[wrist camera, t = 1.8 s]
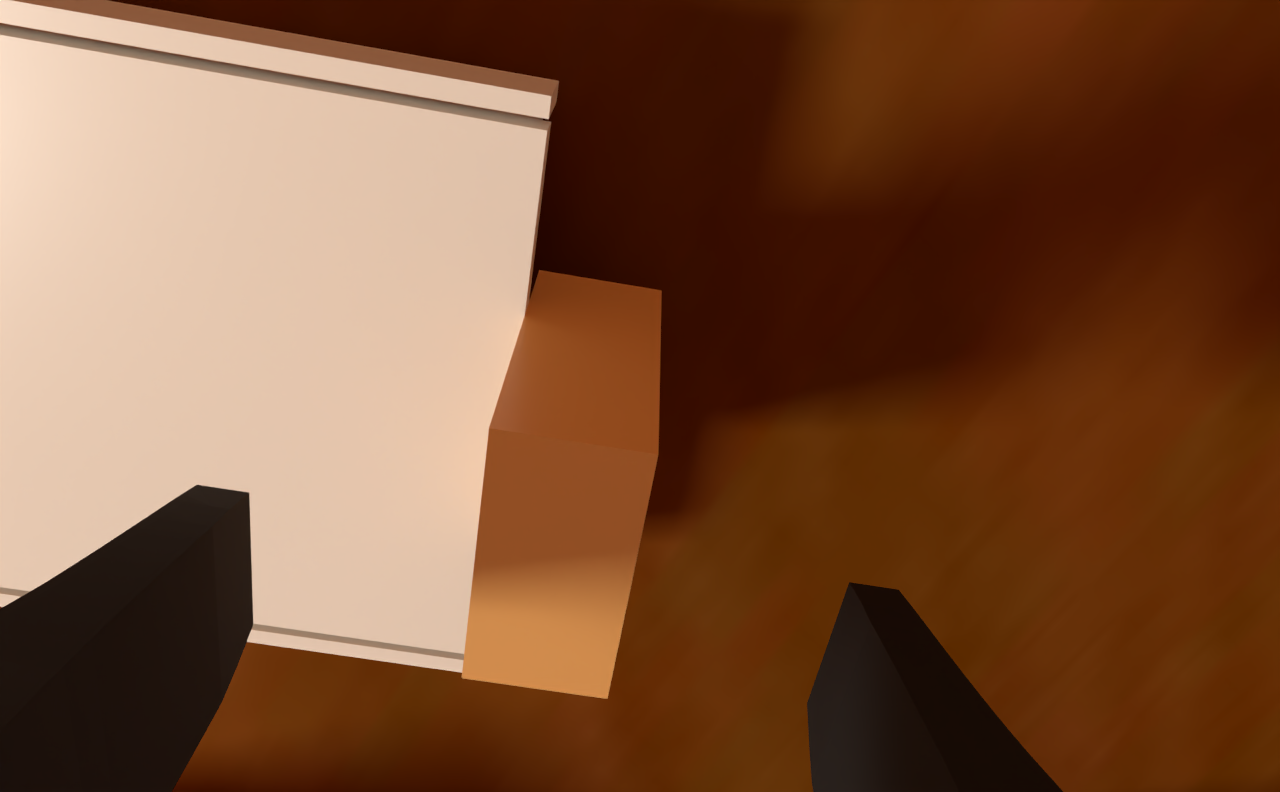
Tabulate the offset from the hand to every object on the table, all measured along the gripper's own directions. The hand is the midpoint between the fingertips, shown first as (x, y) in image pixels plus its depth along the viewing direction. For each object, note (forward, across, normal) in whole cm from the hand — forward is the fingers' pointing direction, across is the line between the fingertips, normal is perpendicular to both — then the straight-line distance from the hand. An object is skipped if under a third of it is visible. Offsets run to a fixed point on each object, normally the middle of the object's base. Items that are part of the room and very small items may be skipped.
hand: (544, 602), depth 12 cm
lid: (+6, +6, 0) cm, 8 cm away
